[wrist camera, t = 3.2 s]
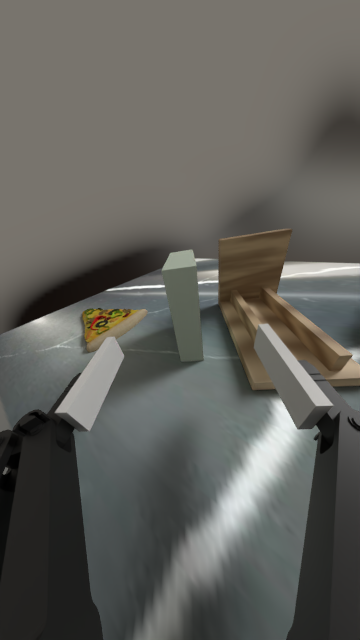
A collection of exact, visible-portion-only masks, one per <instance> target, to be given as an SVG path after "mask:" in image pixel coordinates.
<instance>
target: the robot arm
mask: <svg viewBox="0 0 360 640" xmlns="http://www.w3.org/2000/svg"><path fill="white" fill-rule="evenodd" d="M254 349H255V351H256V353H257V355H258V357H259V358H260V360H261V362H262V364H263V366H264V368H265V370H266V371H267V373H268V375H269V377H270V379H271V381H272V383H273V384H274V386H275V388H276V390H277V392H278V394H279V396H280V397H281V399H282V401H283V403H284V405H285V407H286V409H287V410H288V412H289V414H290V416H291V418H292V420H293V422H294V423H295V425H296V427H297V429H312V428H313V427H314V426H315V425H317V427H318V429H319V430H320V432H319V433H318V434H317V435H316V436H315V437H314V440H317V439H318V443H317V451H316V458H315V466H314V473H313V481H312V488H311V496H310V503H309V510H308V518H307V525H306V533H305V540H304V548H303V555H302V563H301V570H300V578H299V585H298V593H297V600H296V607H295V615H294V621H293V624H292V627H291V629H290V631H289V632H288V635H287V638H286V640H360V412H359V411H356V410H353V409H352V408H351V407H350V406H349V405H348V404H347V403H346V401H345V400H344V399H343V398H342V397H341V396H340V395H339V394H338V392H337V391H336V390H335V389H334V388H333V387H332V386H331V385H330V383H329V382H328V381H326V379H325V378H324V377H323V376H322V375H321V374H320V372H319V371H318V370H317V369H316V368H315V367H314V366H313V365H312V364H310V363H309V362H307V361H306V360H297V359H296V358H295V357H294V356H293V354H292V353H291V352H290V351H289V349H288V348H287V347H286V346H285V344H284V343H283V342H282V341H281V339H280V338H279V337H278V336H277V334H276V333H275V332H274V331H273V329H272V328H271V327H270V326H269V324H258V329H257V333H256V338H255V343H254ZM123 358H124V354H123V352H122V350H121V348H120V347H119V345H118V343H117V341H116V339H115V337H107V338H106V339H105V341H104V342H103V343H102V345H101V346H100V348H99V349H98V351H97V352H96V354H95V355H94V356H93V358H92V359H91V361H90V362H89V364H88V365H87V367H86V368H85V369H84V371H83V372H82V373H79V374H78V375H77V376H75V377H74V378H73V379H72V381H71V382H70V383H69V385H68V387H67V388H66V389H65V390H64V393H62V394H61V396H60V397H59V399H58V400H57V401H56V403H55V404H54V405H53V407H52V408H51V410H50V411H49V412H48V414H45V413H44V412H42V411H41V410H39V409H38V410H33V411H31V412H29V413H27V414H26V415H25V416H23V417H22V418H21V419H20V420H19V421H18V422H17V423H16V425H15V426H14V428H13V430H12V431H11V430H5V431H2V432H0V640H103V635H102V627H101V621H100V615H99V612H98V609H97V607H96V606H95V604H94V603H93V601H92V597H91V592H90V583H89V573H88V564H87V554H86V545H85V535H84V526H83V516H82V506H81V497H80V487H79V478H78V468H77V459H76V449H75V440H74V434H73V433H72V432H73V430H74V428H75V429H77V430H78V431H90V430H91V427H92V425H93V423H94V421H95V419H96V417H97V414H98V412H99V410H100V408H101V406H102V404H103V402H104V399H105V397H106V395H107V393H108V391H109V389H110V386H111V384H112V382H113V380H114V378H115V376H116V373H117V371H118V369H119V367H120V365H121V363H122V360H123ZM5 467H7V468H8V471H7V473H6V474H5V475H3V471H4V469H5Z"/></svg>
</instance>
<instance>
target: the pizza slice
mask: <svg viewBox="0 0 360 640" xmlns="http://www.w3.org/2000/svg"><path fill="white" fill-rule="evenodd" d="M82 314H83V315H82V316H83V320H84V324H85V340H86V342H87V351H88V352H89V353H90V352H94V351H96V350H98V349H99V348H100V346H101V345H102V343H103V342H104V341H105V339H106V338H107V337H115V339H117V338H119V337H120V336H122V335H123V334H125V333H126V332H128V331H129V330H130V329H132V328H133V327H134V326H135V325H137V324H138V323H139V322H140V321H141V320H142V319H143V318H144V317H145V316H146V315H147V311H146V310H145V309H141V310H130V309H128V310H126V309H124V310H121V309H111V310H103V309H101V308H98V309H87V310H85V311H84V312H83V313H82Z"/></svg>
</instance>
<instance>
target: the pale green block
mask: <svg viewBox="0 0 360 640" xmlns="http://www.w3.org/2000/svg"><path fill="white" fill-rule="evenodd" d="M162 275H163V279H164V284H165V289H166V294H167V298H168V303H169V308H170V312H171V317H172V322H173V327H174V331H175V336H176V341H177V346H178V350H179V355H180V360H181V362H187V361H201V360H204V358H203V345H202V332H201V319H200V307H199V294H198V281H197V268H196V262H195V258H194V253H193V250H187V251H180V252H174V253H170V255H169V257H168V259H167V261H166V263H165V265H164V267H163V269H162Z"/></svg>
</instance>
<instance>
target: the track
mask: <svg viewBox="0 0 360 640" xmlns="http://www.w3.org/2000/svg"><path fill="white" fill-rule="evenodd" d="M291 233H292V229H281V230H274V231H269V232H262V233H255V234H249V235H243V236H236V237H230V238H224V239H219V290H218V304H219V306H220V309H221V312H222V314H223V317H224V319H225V322H226V324H227V327H228V329H229V332H230V334H231V337H232V340H233V342H234V345H235V347H236V350H237V352H238V355H239V357H240V360H241V362H242V365H243V368H244V370H245V373H246V375H247V378H248V380H249V383H250V385H251V388H252V390H269V389H276V388H275V386H274V384H273V383H272V381H271V379H270V377H269V375H268V373H267V371H266V370H265V368H264V366H263V364H262V362H261V360H260V358H259V357H258V355H257V353H256V351H255V349H254V343H255V338H256V333H257V329H258V324H269V326H270V327H271V328H272V329H273V331H274V332H275V333H276V334H277V336H278V337H279V338H280V339H281V341H282V342H283V343H284V344H285V346H286V347H287V348H288V349H289V351H290V352H291V353H292V354H293V356H294V357H295V358H296V359H297V360H306V361H307V362H309V363H310V364H312V365H313V366H314V367H315V368H316V369H317V370H318V371H319V372H320V374H321V375H322V376H323V377H324V378H325V379H326V381H328V382H329V383H330V385H331V386H332V387H339V386H360V365H359V364H358V363H357V362H355V361H354V360H353V359H352V358H351V357H352V356H353V355H352V354H351V353H350V352H349V351H347V350H346V349H345V348H344V347H342V346H341V345H340V344H338V343H337V342H336V341H335V340H333V339H332V338H331V337H330V336H328V335H327V334H326V333H325V332H323V331H322V330H321V329H320V328H318V327H317V326H316V325H315V324H313V323H312V322H311V321H310V320H308V319H307V318H306V317H305V316H303V315H302V314H301V313H300V312H298V311H297V310H296V309H295V308H293V307H292V306H291V305H290V304H288V303H287V302H286V301H285V300H283V299H282V298H281V297H280V296H278V295H277V294H276V293H277V289H278V285H279V281H280V277H281V273H282V269H283V265H284V261H285V257H286V253H287V249H288V245H289V240H290V237H291Z"/></svg>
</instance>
